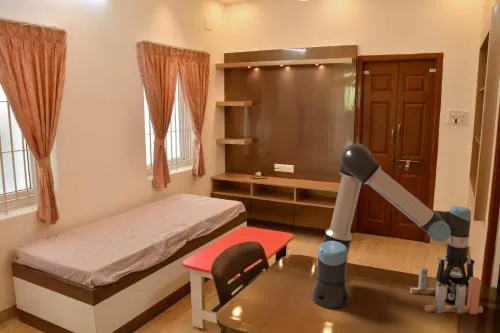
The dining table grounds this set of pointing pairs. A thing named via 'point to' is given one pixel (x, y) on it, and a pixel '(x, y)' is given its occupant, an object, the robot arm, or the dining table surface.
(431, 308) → the oak channel
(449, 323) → the dining table surface
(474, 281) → the terracotta aperture
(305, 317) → the dining table surface
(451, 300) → the beverage can
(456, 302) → the steel collars
